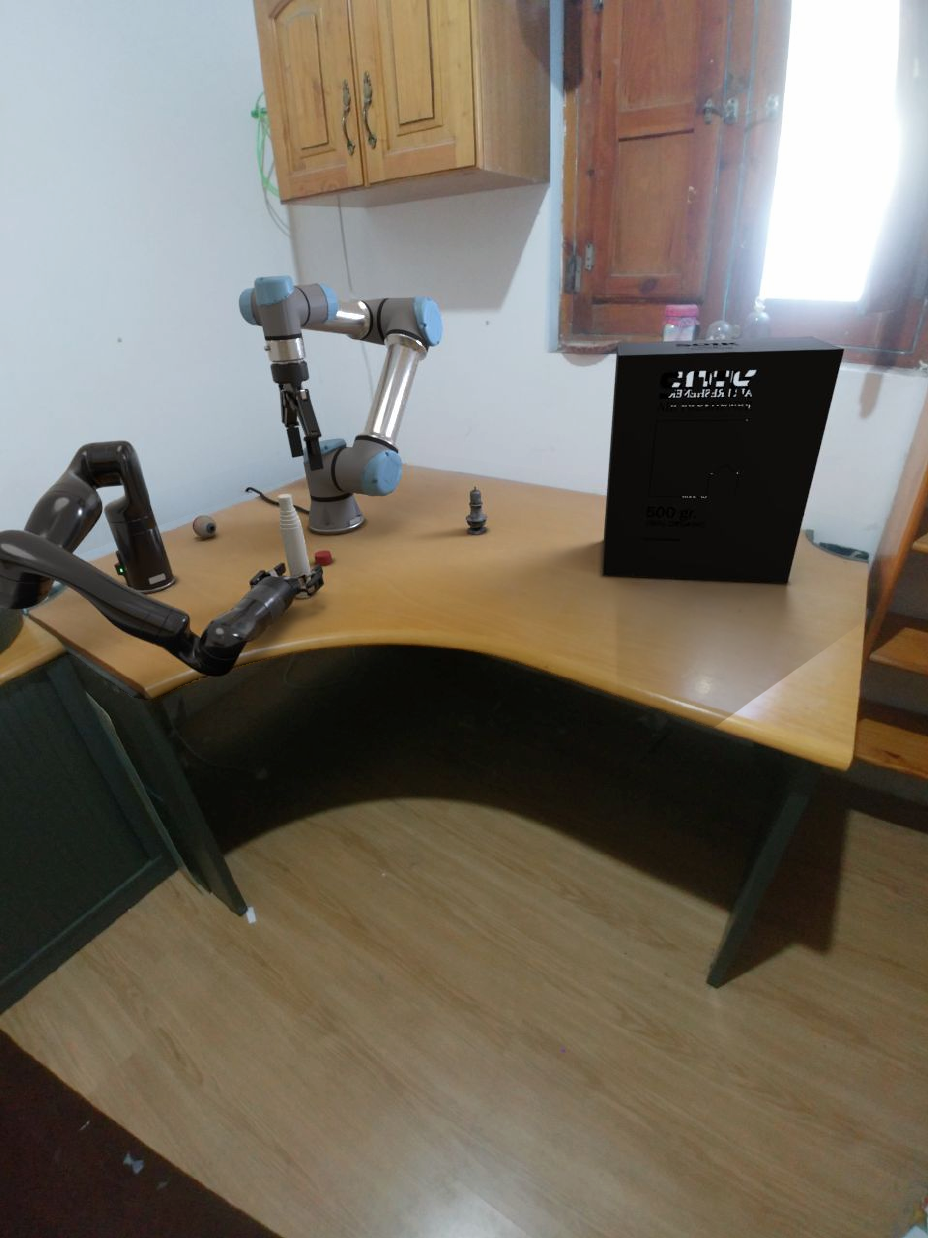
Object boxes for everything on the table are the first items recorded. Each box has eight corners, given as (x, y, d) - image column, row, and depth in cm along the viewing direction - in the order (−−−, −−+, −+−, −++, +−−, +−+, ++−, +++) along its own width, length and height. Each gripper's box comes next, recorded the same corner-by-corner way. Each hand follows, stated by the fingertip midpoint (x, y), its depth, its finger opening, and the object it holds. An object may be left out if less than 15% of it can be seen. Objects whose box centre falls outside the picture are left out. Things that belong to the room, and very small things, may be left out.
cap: (320, 558, 150) (319, 549, 149) (334, 559, 149) (333, 550, 148) (313, 565, 147) (311, 556, 145) (327, 566, 146) (326, 557, 144)
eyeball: (206, 542, 163) (200, 521, 160) (191, 538, 166) (185, 518, 163) (224, 534, 167) (218, 514, 164) (209, 531, 170) (203, 510, 167)
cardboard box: (766, 545, 143) (811, 336, 120) (787, 583, 126) (844, 348, 103) (603, 539, 150) (617, 342, 128) (602, 575, 133) (618, 355, 111)
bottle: (306, 600, 131) (285, 500, 120) (290, 596, 133) (268, 497, 121) (318, 591, 134) (299, 493, 123) (303, 588, 136) (283, 491, 125)
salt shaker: (485, 534, 157) (484, 490, 151) (463, 534, 158) (461, 489, 152) (489, 526, 162) (488, 482, 156) (468, 525, 163) (466, 482, 157)
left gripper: (237, 617, 121) (275, 581, 135) (302, 621, 118) (335, 584, 132) (228, 583, 117) (268, 550, 131) (295, 587, 114) (329, 552, 128)
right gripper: (254, 358, 133) (275, 454, 144) (287, 369, 114) (308, 479, 125) (288, 354, 136) (305, 448, 147) (325, 364, 117) (342, 471, 128)
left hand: (302, 567), depth 131 cm, fingers open, 8 cm apart
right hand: (307, 462), depth 136 cm, fingers open, 13 cm apart
